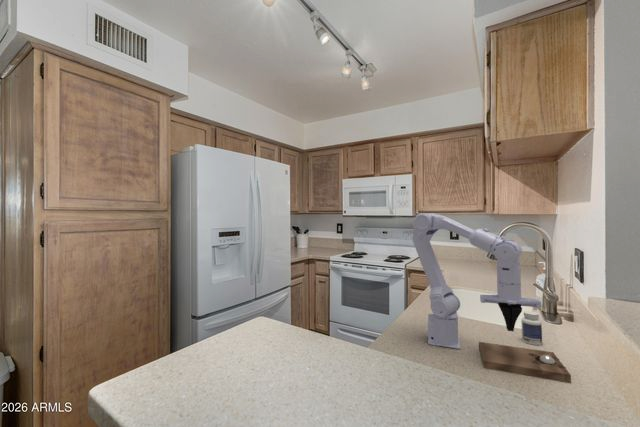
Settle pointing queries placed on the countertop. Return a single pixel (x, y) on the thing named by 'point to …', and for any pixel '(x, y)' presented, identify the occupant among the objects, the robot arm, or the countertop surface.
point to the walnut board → (522, 362)
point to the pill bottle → (531, 328)
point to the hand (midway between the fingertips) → (510, 329)
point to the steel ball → (547, 359)
